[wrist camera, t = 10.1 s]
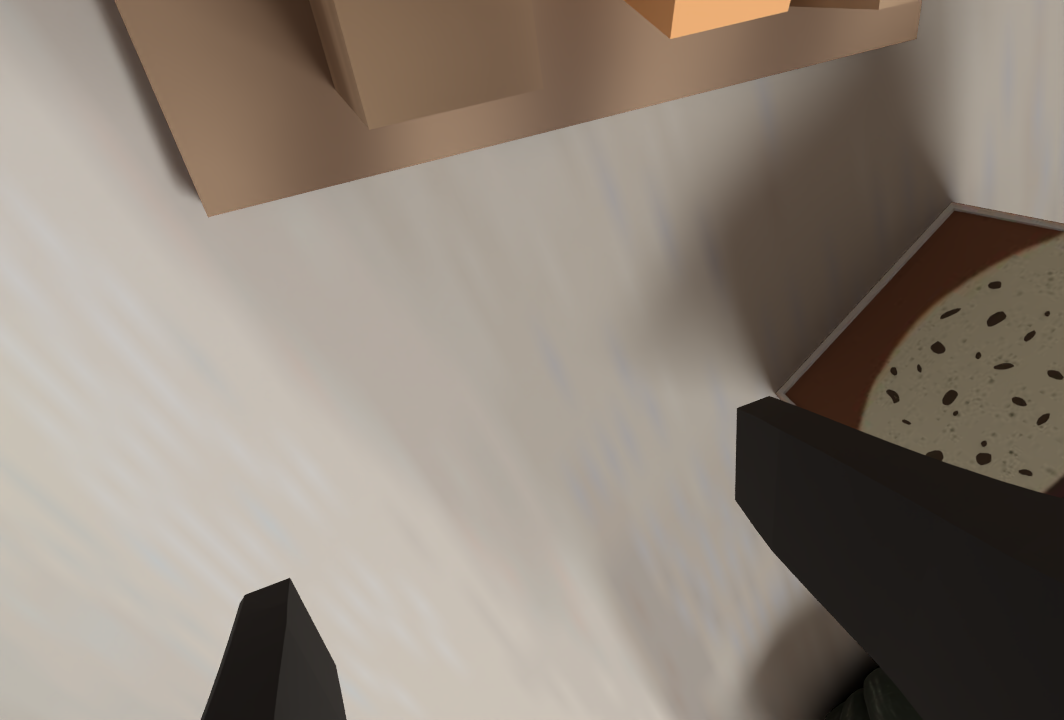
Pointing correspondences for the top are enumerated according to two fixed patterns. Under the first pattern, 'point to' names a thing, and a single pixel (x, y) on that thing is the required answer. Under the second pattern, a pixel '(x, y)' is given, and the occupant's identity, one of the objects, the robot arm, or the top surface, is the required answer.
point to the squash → (875, 702)
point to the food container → (957, 350)
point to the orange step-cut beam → (703, 13)
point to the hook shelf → (328, 144)
